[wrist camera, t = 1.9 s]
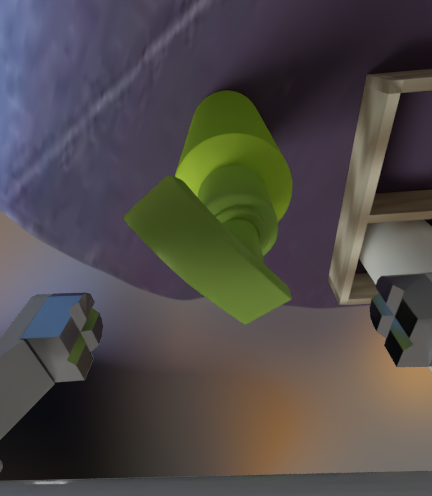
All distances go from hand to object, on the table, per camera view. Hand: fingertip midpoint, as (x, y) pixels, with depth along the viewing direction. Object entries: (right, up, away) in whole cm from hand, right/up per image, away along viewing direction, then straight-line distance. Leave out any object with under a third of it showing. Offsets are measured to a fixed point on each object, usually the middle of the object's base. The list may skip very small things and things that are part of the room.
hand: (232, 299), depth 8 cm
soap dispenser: (0, +12, +17) cm, 21 cm away
